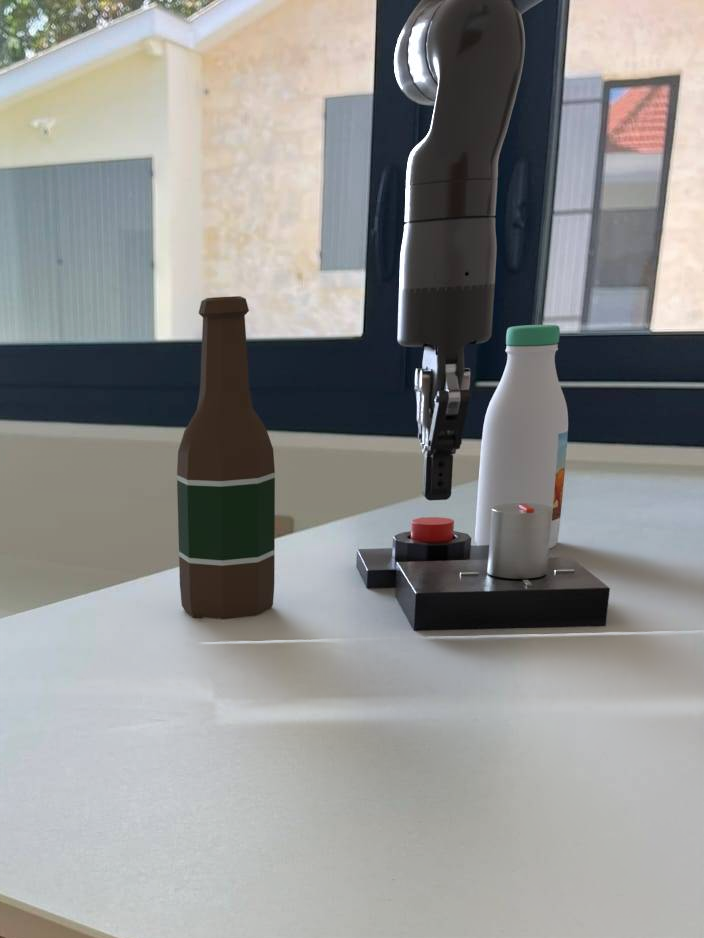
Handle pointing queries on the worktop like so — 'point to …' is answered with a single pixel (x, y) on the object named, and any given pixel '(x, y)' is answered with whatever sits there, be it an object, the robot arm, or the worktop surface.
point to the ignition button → (432, 529)
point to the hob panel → (498, 596)
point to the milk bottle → (524, 431)
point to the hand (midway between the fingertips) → (436, 498)
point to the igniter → (413, 556)
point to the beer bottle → (225, 480)
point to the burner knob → (519, 540)
